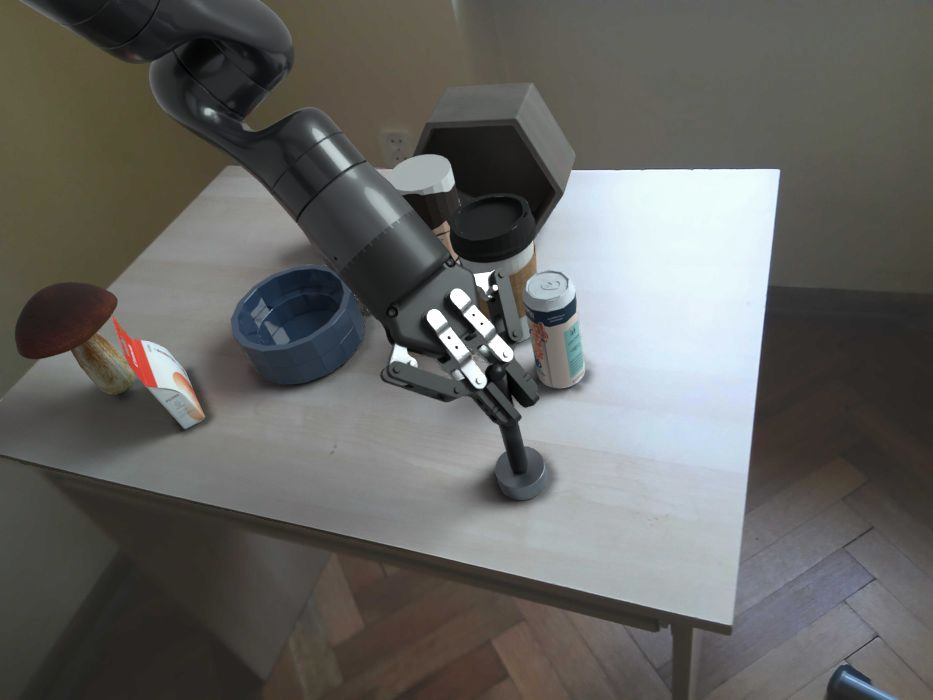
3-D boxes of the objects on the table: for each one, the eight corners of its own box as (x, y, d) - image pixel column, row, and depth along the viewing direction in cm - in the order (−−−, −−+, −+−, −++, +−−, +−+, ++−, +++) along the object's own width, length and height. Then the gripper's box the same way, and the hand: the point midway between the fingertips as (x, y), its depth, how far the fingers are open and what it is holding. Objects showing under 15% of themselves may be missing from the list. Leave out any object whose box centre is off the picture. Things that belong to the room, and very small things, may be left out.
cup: (414, 277, 87) (378, 172, 76) (462, 253, 88) (434, 147, 77) (437, 306, 82) (403, 199, 71) (487, 281, 83) (461, 172, 73)
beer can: (539, 356, 73) (523, 268, 65) (586, 354, 72) (575, 265, 64) (536, 392, 70) (518, 304, 62) (585, 391, 69) (573, 301, 61)
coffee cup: (538, 357, 73) (516, 244, 63) (463, 347, 77) (431, 237, 66) (560, 302, 78) (544, 188, 68) (489, 294, 82) (463, 184, 71)
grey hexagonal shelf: (388, 217, 88) (442, 80, 72) (408, 181, 93) (463, 45, 77) (509, 277, 90) (588, 157, 74) (523, 239, 95) (599, 118, 79)
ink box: (186, 370, 83) (135, 299, 75) (207, 419, 77) (153, 347, 69) (163, 383, 82) (109, 312, 74) (182, 433, 76) (124, 362, 68)
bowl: (259, 404, 77) (235, 367, 73) (249, 326, 86) (227, 290, 82) (377, 360, 78) (360, 321, 74) (354, 288, 87) (338, 250, 83)
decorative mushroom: (123, 349, 89) (46, 255, 78) (187, 359, 84) (113, 262, 74) (61, 416, 82) (-32, 324, 72) (126, 432, 78) (36, 336, 67)
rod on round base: (508, 507, 62) (474, 397, 51) (492, 469, 65) (457, 357, 54) (555, 489, 62) (531, 375, 51) (536, 452, 65) (510, 337, 55)
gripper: (313, 279, 47) (485, 472, 48) (452, 170, 52) (602, 347, 54) (296, 308, 53) (447, 477, 55) (421, 210, 59) (554, 365, 61)
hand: (523, 412), depth 55 cm, fingers closed on rod on round base
